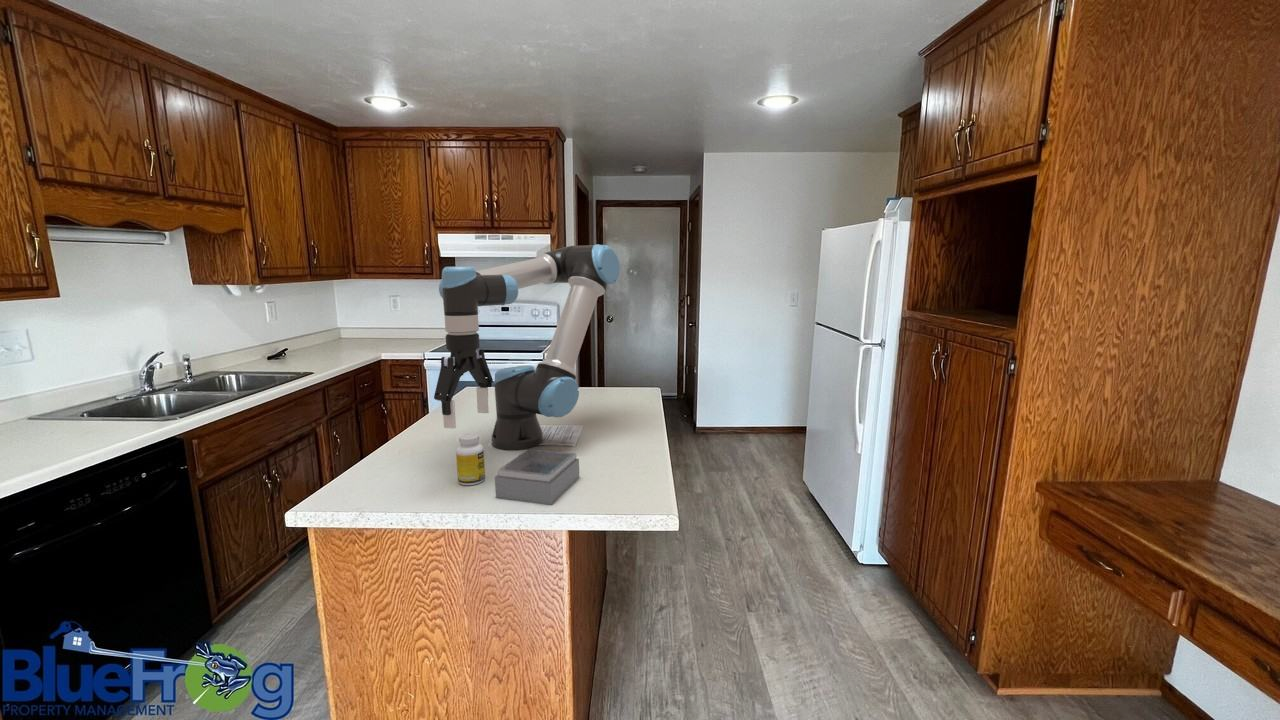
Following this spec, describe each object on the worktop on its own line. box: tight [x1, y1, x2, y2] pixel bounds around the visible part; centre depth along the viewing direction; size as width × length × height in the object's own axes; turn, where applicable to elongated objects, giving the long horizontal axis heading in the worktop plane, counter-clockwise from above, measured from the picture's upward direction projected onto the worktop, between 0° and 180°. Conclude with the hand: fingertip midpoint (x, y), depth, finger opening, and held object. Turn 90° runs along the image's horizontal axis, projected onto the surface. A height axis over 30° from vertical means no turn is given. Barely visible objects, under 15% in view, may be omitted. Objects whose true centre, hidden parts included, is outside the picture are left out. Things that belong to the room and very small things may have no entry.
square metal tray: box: [494, 448, 580, 506], centre depth 126 cm, size 16×16×6 cm
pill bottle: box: [455, 433, 486, 486], centre depth 129 cm, size 6×6×12 cm
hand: (467, 420), depth 127 cm, fingers open, 13 cm apart
